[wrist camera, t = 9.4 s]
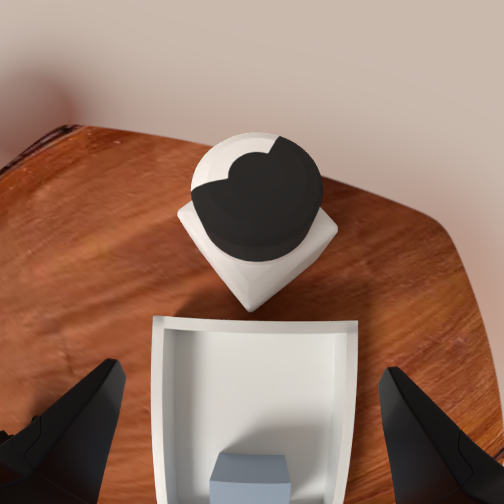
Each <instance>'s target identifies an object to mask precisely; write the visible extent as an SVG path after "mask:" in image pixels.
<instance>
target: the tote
mask: <svg viewBox="0 0 504 504" xmlns="http://www.w3.org/2000/svg"><path fill="white" fill-rule="evenodd" d="M357 362H358V320H357V321H312V322H282V321H237V320H213V319H195V318H180V317H166V316H154V315H153V332H152V358H151V421H152V446H153V462H154V475H155V486H156V495H157V504H210V485H209V480H210V477H211V475H212V472H213V469H214V466H215V463H216V460H217V457H218V454H219V453H229V454H247V455H285V459H286V464H287V468H288V472H289V476H290V480H291V491H290V501H289V504H343V500H344V495H345V489H346V483H347V477H348V470H349V463H350V455H351V447H352V438H353V428H354V416H355V403H356V386H357Z"/></svg>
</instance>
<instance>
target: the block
mask: <svg viewBox="0 0 504 504" xmlns="http://www.w3.org/2000/svg"><path fill="white" fill-rule="evenodd" d="M209 485H210V504H289V501H290V491H291V480H290V476H289V472H288V468H287V464H286V459H285V455H247V454H229V453H219V454H218V457H217V460H216V463H215V466H214V469H213V472H212V475H211V477H210V480H209Z"/></svg>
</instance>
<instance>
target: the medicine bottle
mask: <svg viewBox="0 0 504 504" xmlns="http://www.w3.org/2000/svg"><path fill="white" fill-rule="evenodd" d="M191 196H192V201H190V202H189V203H187V204H186V205H185V206H183V207H182V208H181V209H179V211H178V214H177V215H178V218H179V219H180V221H181V223H182V224H183V226H184V227H185V229H186V230H187V232H188V233H189V235H190V237H191V238H192V240H193V241H194V243H195V244H196V246H197V247H198V249H199V250H200V251H201V253H202V254H203V255H204V257H205V258H206V259H207V261H208V262H209V263H210V264H211V266H212V267H213V268H214V270H215V271H216V272H217V273H218V275H219V276H220V277H221V279H222V280H223V281H224V282H225V284H226V285H227V286H228V288H229V289H230V290H231V291H232V293H233V294H234V295H235V296H236V298H237V299H238V300H239V301H240V303H241V304H242V305H243V307H244V308H245V309H246V310H247V311H248V312H253V311H255V310H256V309H257V308H258V307H260V306H261V305H262V304H264V303H265V302H266V301H267V300H269V299H270V298H271V297H272V296H274V295H275V294H276V293H277V292H279V291H280V290H281V289H282V288H283V287H285V286H286V285H287V284H288V283H290V282H291V281H292V280H293V279H294V278H296V277H297V276H298V275H299V274H301V273H302V272H303V271H304V270H305V269H307V268H308V267H309V266H310V265H311V264H313V263H314V262H315V261H316V260H317V259H318V257H319V256H320V255H321V253H322V252H323V251H324V249H325V248H326V247H327V245H328V244H329V243H330V241H331V240H332V239H333V237H334V236H335V235H336V233H337V232H338V227H337V225H336V224H335V223H334V221H333V220H332V219H331V218H330V217H329V216H328V215H327V214H326V213H325V212H324V210H323V209H322V208H321V207H320V206H321V202H322V196H323V185H322V179H321V175H320V172H319V170H318V168H317V166H316V164H315V162H314V161H313V159H312V158H311V157H310V156H309V154H307V152H305V150H303V149H302V148H301V147H300V146H298V145H297V144H296V143H294V142H292V141H290V140H288V139H286V138H283V137H281V136H277V135H274V134H269V133H259V132H253V133H245V134H240V135H236V136H233V137H230V138H228V139H226V140H224V141H222V142H220V143H218V144H217V145H215V146H214V147H213V148H212V149H210V150H209V151H208V152H207V153H206V154H205V155H204V157H203V158H202V159H201V161H200V162H199V164H198V166H197V167H196V170H195V172H194V175H193V179H192V183H191Z"/></svg>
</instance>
